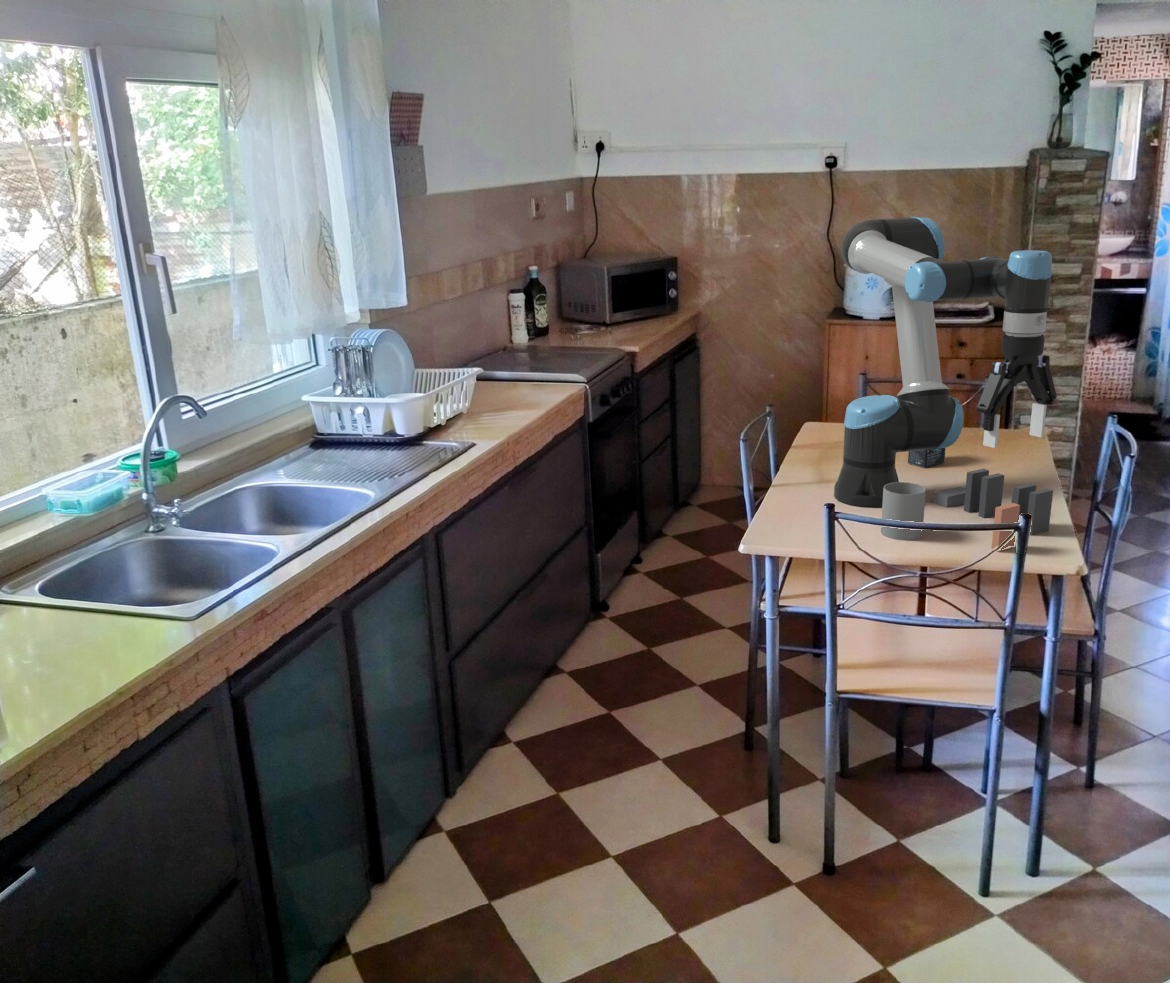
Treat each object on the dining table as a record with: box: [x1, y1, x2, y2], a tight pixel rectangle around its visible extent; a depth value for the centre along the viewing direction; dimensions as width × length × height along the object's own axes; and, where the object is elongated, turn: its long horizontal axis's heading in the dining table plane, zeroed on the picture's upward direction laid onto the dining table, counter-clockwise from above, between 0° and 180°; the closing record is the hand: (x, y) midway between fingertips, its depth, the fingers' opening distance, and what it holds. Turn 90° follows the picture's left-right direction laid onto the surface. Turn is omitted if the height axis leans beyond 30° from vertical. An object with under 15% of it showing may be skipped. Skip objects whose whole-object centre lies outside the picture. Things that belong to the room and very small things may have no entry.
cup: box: [880, 481, 927, 541], centre depth 211 cm, size 8×8×10 cm
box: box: [907, 448, 946, 469], centre depth 258 cm, size 8×6×11 cm
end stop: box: [933, 485, 966, 508], centre depth 230 cm, size 8×4×2 cm, turn 116°
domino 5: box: [1028, 488, 1054, 536], centre depth 209 cm, size 5×2×9 cm, turn 116°
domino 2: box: [977, 472, 1005, 519], centre depth 220 cm, size 5×2×9 cm, turn 116°
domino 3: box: [990, 502, 1020, 552], centre depth 201 cm, size 5×2×9 cm, turn 116°
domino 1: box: [963, 468, 990, 513], centre depth 224 cm, size 5×2×9 cm, turn 116°
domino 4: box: [1011, 482, 1037, 515], centre depth 213 cm, size 5×2×9 cm, turn 116°
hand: (1013, 441), depth 199 cm, fingers open, 13 cm apart
